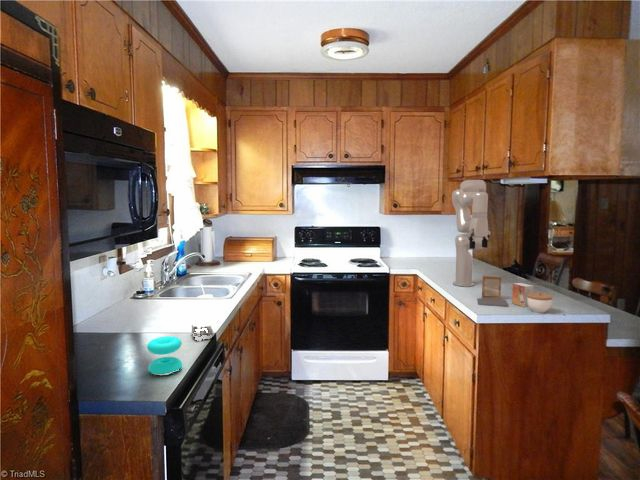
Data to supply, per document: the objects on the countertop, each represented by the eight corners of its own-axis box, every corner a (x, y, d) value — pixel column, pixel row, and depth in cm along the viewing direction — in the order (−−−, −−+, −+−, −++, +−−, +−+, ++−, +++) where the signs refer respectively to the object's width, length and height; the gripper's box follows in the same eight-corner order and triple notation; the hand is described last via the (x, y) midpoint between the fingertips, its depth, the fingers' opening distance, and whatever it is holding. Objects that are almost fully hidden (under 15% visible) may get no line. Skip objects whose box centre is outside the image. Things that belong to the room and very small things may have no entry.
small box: (511, 303, 218) (512, 283, 217) (520, 302, 220) (520, 282, 219) (524, 307, 211) (525, 286, 210) (532, 306, 212) (533, 285, 212)
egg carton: (191, 334, 171) (190, 324, 170) (210, 332, 173) (210, 322, 173) (193, 342, 161) (193, 332, 160) (214, 340, 164) (213, 329, 163)
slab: (481, 297, 233) (482, 275, 232) (499, 298, 230) (500, 276, 229) (482, 299, 228) (482, 276, 227) (500, 300, 225) (501, 277, 224)
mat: (477, 299, 227) (477, 298, 227) (505, 301, 223) (505, 300, 223) (478, 304, 216) (478, 303, 216) (508, 306, 211) (508, 305, 211)
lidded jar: (550, 315, 196) (551, 295, 195) (525, 312, 201) (525, 292, 200) (552, 310, 205) (553, 291, 204) (527, 307, 210) (528, 288, 209)
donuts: (187, 335, 137) (170, 346, 127) (188, 366, 138) (172, 378, 128) (158, 334, 139) (140, 344, 129) (159, 364, 140) (141, 376, 130)
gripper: (484, 215, 233) (483, 246, 235) (462, 216, 225) (461, 248, 226) (496, 215, 227) (495, 247, 229) (474, 216, 218) (473, 249, 220)
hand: (478, 247), depth 228 cm, fingers open, 9 cm apart
